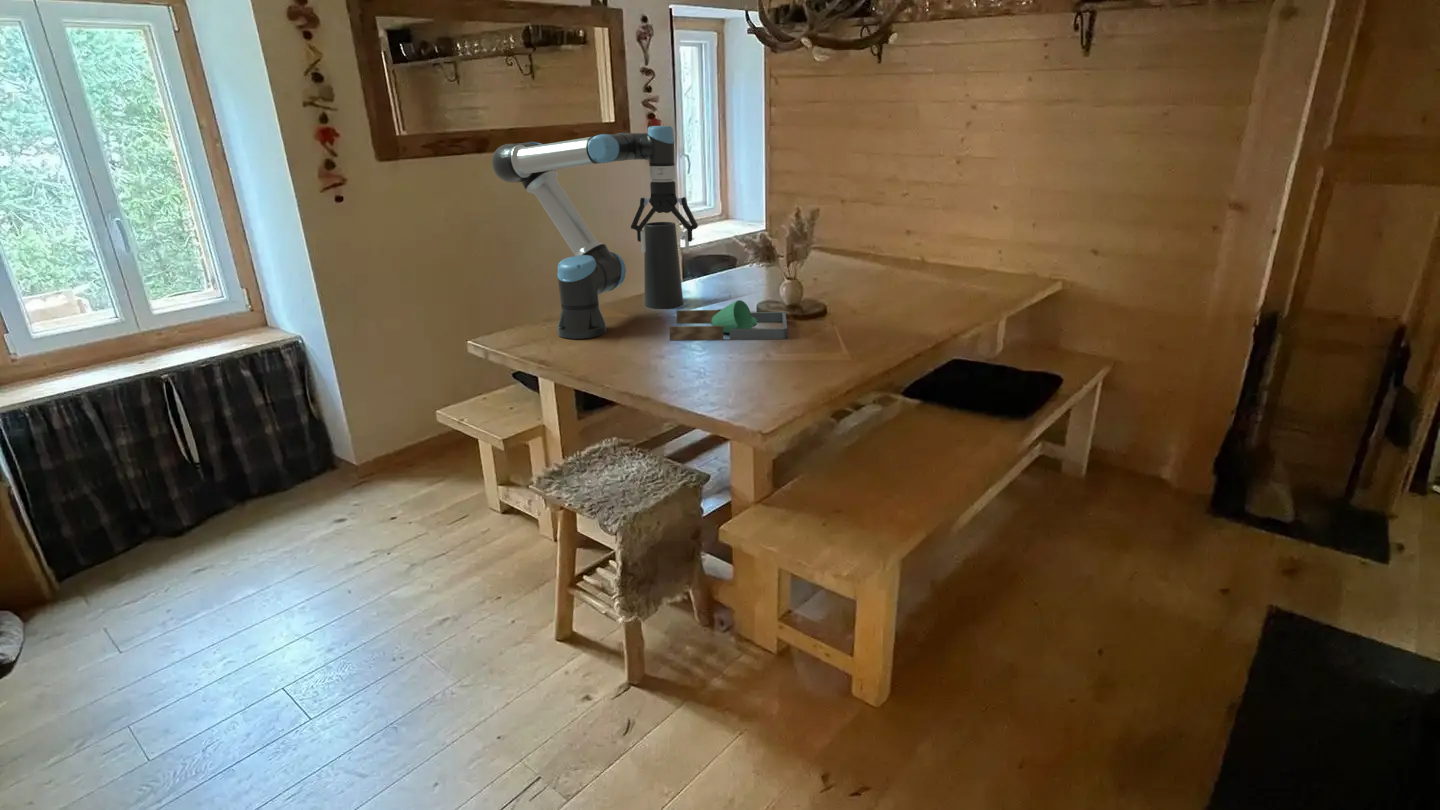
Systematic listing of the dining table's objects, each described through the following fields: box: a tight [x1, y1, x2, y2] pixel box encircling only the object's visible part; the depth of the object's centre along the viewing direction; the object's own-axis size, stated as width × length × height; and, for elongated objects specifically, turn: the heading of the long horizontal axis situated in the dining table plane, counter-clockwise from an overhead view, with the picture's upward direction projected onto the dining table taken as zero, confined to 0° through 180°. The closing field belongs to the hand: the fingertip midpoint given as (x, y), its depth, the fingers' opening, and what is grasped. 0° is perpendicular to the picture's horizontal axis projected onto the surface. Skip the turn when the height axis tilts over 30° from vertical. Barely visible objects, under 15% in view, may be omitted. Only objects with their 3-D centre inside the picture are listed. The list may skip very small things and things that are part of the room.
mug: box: [711, 299, 758, 334], centre depth 243 cm, size 15×10×10 cm
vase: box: [643, 221, 684, 310], centre depth 275 cm, size 14×14×29 cm
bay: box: [668, 309, 724, 341], centre depth 246 cm, size 16×22×4 cm
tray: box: [729, 311, 788, 341], centre depth 245 cm, size 17×22×3 cm
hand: (665, 252), depth 243 cm, fingers open, 13 cm apart
